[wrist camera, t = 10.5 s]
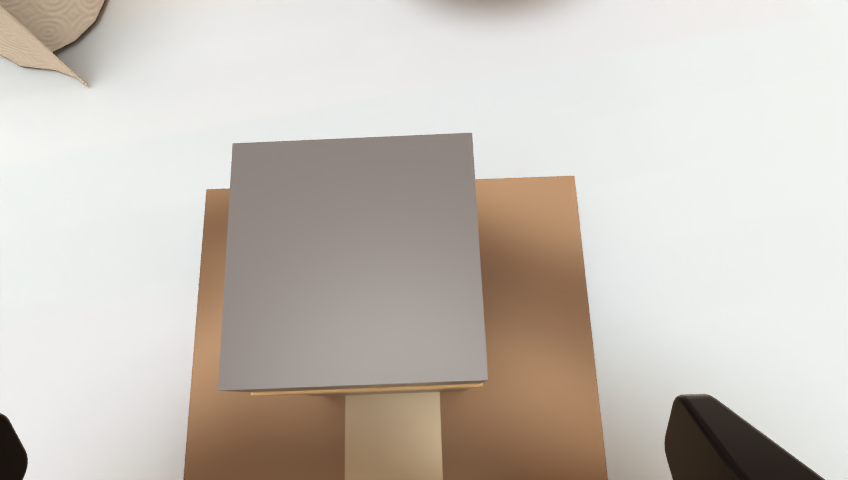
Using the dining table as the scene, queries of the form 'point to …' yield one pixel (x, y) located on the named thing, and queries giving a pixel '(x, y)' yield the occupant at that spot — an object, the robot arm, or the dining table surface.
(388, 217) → the gift box with lid
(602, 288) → the dining table surface
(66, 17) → the paper towel roll
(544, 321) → the cardboard box
